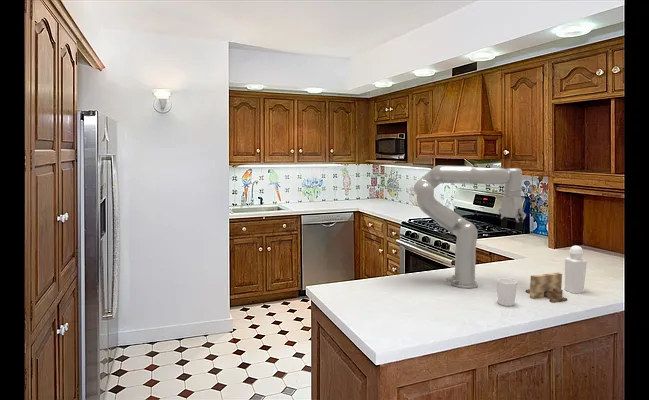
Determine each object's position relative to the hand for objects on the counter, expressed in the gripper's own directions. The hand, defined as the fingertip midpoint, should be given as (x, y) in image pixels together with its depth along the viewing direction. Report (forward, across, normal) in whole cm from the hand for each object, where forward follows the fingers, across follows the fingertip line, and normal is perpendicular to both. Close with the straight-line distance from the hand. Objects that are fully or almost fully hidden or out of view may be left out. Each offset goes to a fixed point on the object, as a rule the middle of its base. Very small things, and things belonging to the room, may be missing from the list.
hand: (511, 228), depth 214 cm
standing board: (+28, +19, +4) cm, 34 cm away
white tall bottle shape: (+28, +18, +22) cm, 40 cm away
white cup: (+28, +21, -20) cm, 41 cm away
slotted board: (+28, +19, +4) cm, 34 cm away
